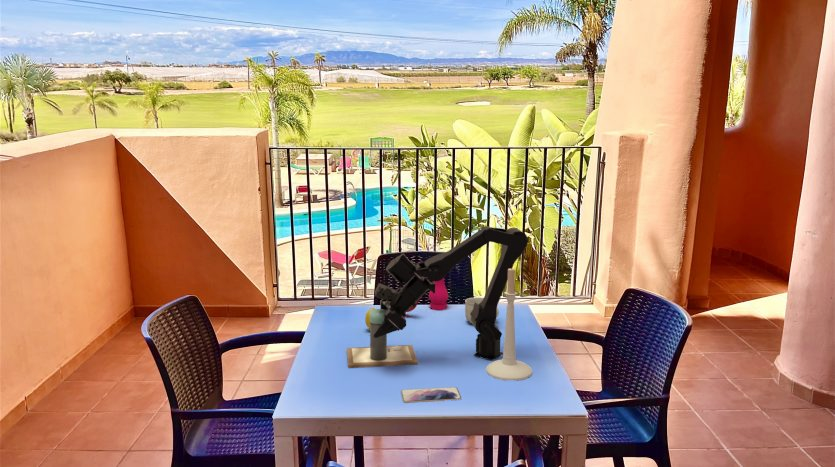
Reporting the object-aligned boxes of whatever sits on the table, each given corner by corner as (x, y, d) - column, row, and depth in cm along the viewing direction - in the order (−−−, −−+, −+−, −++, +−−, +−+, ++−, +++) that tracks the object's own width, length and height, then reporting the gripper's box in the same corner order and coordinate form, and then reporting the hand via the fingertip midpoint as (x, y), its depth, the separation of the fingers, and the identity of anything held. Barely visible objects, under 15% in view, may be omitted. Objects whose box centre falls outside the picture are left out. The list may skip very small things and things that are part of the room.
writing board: (411, 347, 205) (411, 344, 205) (417, 364, 191) (417, 361, 191) (346, 350, 202) (346, 347, 202) (348, 367, 189) (348, 364, 189)
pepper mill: (448, 305, 249) (449, 253, 245) (447, 311, 242) (448, 257, 238) (429, 304, 249) (429, 252, 246) (428, 310, 242) (428, 257, 239)
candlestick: (496, 383, 178) (498, 274, 173) (479, 365, 191) (481, 263, 185) (539, 377, 182) (543, 271, 176) (520, 361, 194) (523, 260, 188)
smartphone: (462, 398, 168) (403, 401, 166) (462, 401, 168) (403, 404, 166) (457, 386, 175) (400, 389, 173) (457, 389, 175) (400, 392, 173)
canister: (390, 358, 193) (390, 311, 191) (376, 361, 190) (376, 314, 188) (380, 353, 197) (380, 307, 195) (366, 356, 194) (366, 310, 192)
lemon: (379, 334, 217) (379, 310, 216) (363, 333, 218) (362, 309, 217) (383, 328, 222) (383, 305, 221) (367, 327, 223) (367, 304, 222)
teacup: (459, 320, 231) (459, 298, 230) (486, 316, 236) (486, 294, 234) (479, 332, 219) (479, 309, 217) (507, 327, 223) (507, 305, 222)
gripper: (388, 267, 199) (351, 304, 199) (394, 283, 181) (354, 323, 181) (414, 291, 201) (378, 328, 202) (422, 309, 183) (383, 349, 184)
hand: (373, 331), depth 192 cm, fingers open, 9 cm apart
